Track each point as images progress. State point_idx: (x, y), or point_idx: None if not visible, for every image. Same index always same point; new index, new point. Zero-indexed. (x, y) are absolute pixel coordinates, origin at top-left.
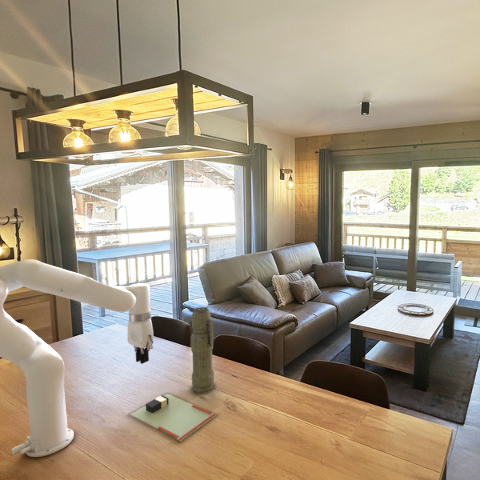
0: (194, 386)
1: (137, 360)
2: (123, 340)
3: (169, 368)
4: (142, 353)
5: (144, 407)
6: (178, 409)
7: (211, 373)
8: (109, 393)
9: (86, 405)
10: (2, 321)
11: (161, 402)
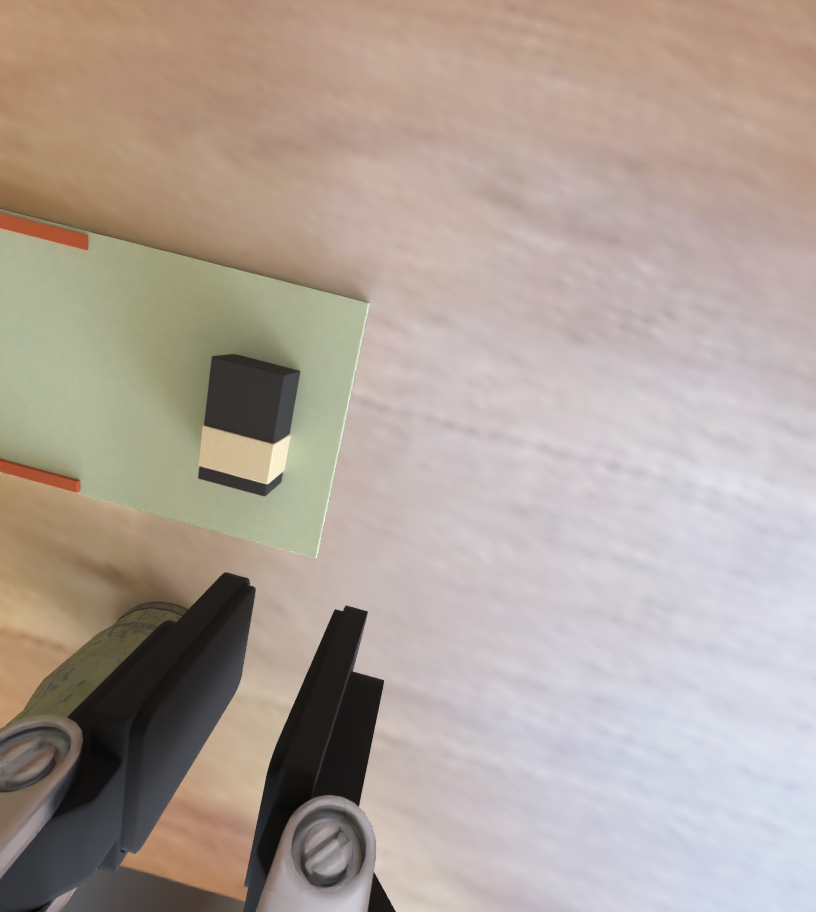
0: (153, 629)
1: (330, 624)
2: None
3: (516, 795)
4: (51, 742)
5: (334, 394)
6: (125, 434)
7: None
8: (712, 476)
9: (776, 305)
10: None
11: (203, 425)
